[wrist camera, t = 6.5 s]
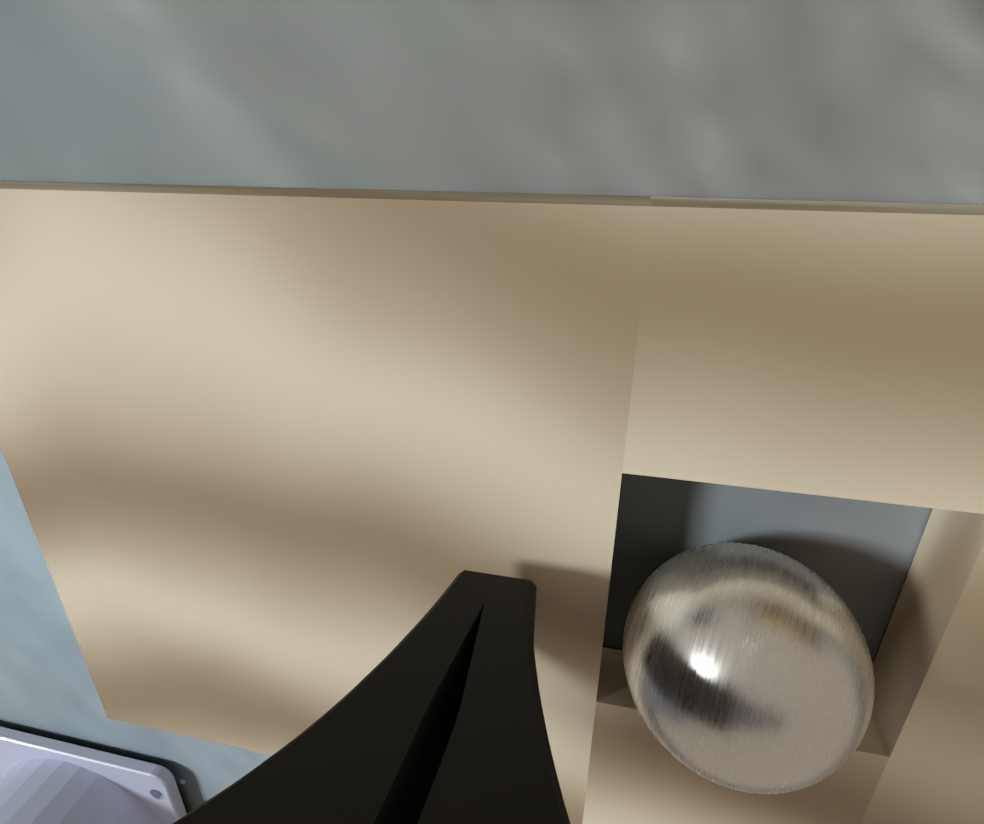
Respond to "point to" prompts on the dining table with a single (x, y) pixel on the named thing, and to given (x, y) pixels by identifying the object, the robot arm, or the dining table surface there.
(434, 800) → the robot arm
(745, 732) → the steel ball
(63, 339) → the ash board
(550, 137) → the dining table surface
